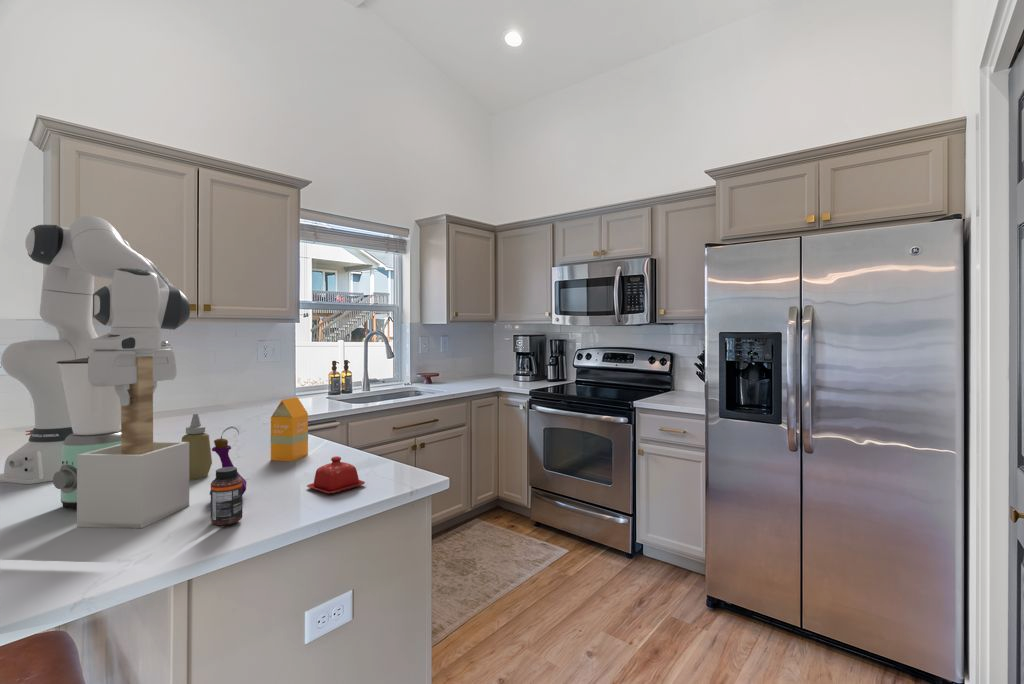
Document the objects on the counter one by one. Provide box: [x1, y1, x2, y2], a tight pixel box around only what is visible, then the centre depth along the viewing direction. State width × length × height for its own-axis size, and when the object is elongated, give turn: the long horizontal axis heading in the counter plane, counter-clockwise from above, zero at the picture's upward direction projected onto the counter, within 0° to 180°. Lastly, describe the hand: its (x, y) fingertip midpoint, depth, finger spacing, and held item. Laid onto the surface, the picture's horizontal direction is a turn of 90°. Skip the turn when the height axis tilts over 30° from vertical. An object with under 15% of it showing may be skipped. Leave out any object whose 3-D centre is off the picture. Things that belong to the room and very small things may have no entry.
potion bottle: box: [209, 425, 247, 496], centre depth 120 cm, size 8×8×18 cm
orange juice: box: [270, 396, 309, 462], centre depth 161 cm, size 8×9×20 cm
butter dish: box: [306, 456, 366, 494], centre depth 131 cm, size 12×12×8 cm
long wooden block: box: [121, 356, 154, 455], centre depth 109 cm, size 4×4×30 cm
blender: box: [52, 356, 121, 508], centre depth 119 cm, size 19×13×35 cm
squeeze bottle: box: [180, 413, 213, 481], centre depth 140 cm, size 8×8×18 cm
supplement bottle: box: [210, 466, 243, 526], centre depth 106 cm, size 6×6×11 cm
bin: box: [76, 440, 190, 529], centre depth 109 cm, size 14×14×15 cm
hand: (136, 403), depth 109 cm, fingers closed on long wooden block, 4 cm apart
